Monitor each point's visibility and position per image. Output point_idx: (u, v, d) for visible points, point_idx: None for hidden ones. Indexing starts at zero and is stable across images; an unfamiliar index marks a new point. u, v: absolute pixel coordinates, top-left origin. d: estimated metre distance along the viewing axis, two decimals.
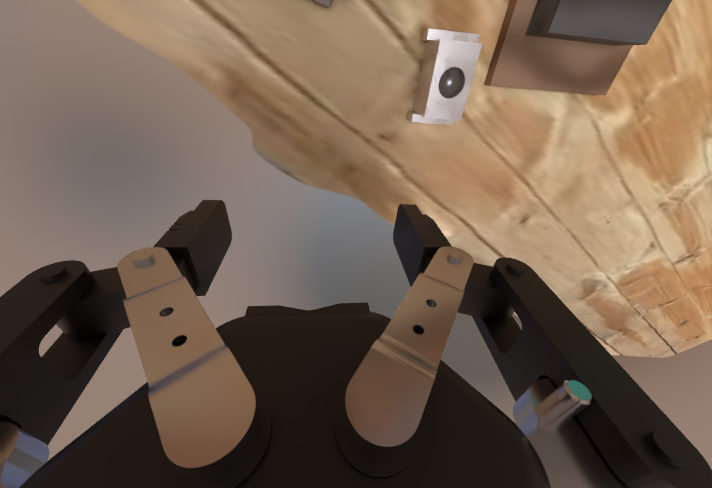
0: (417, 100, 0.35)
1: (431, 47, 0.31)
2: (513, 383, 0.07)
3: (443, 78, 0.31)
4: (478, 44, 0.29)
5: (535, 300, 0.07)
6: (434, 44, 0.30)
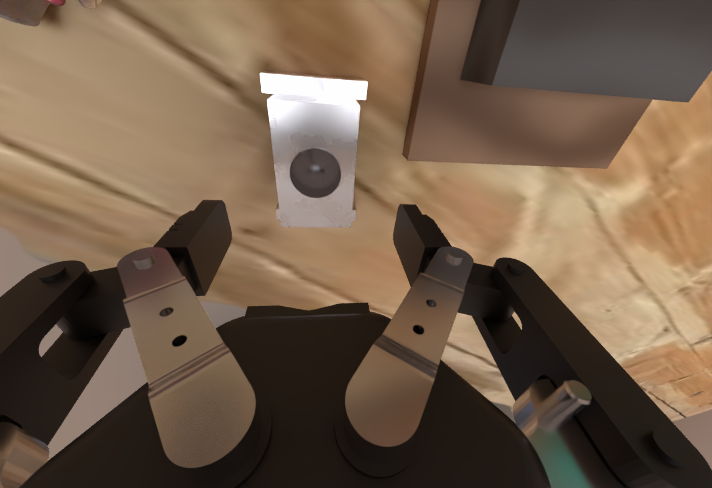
0: None
1: None
2: (513, 383, 0.07)
3: (297, 167, 0.16)
4: (352, 107, 0.14)
5: (535, 300, 0.07)
6: None
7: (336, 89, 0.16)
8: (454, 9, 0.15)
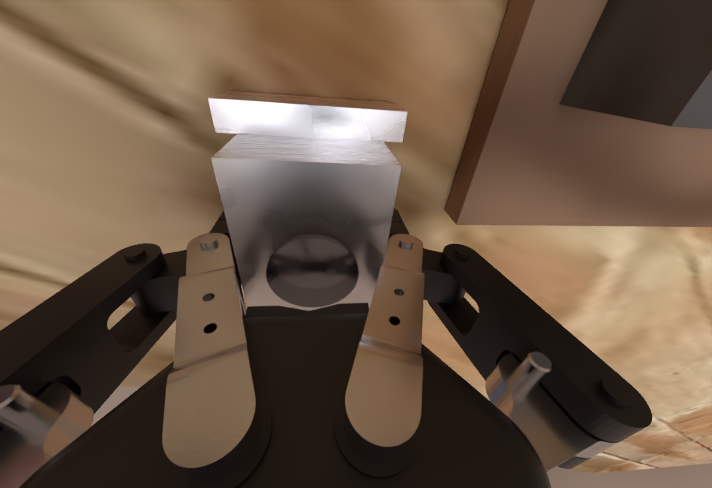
0: None
1: None
2: (479, 361, 0.08)
3: (280, 266, 0.09)
4: (385, 168, 0.07)
5: (485, 281, 0.08)
6: None
7: (351, 125, 0.09)
8: None
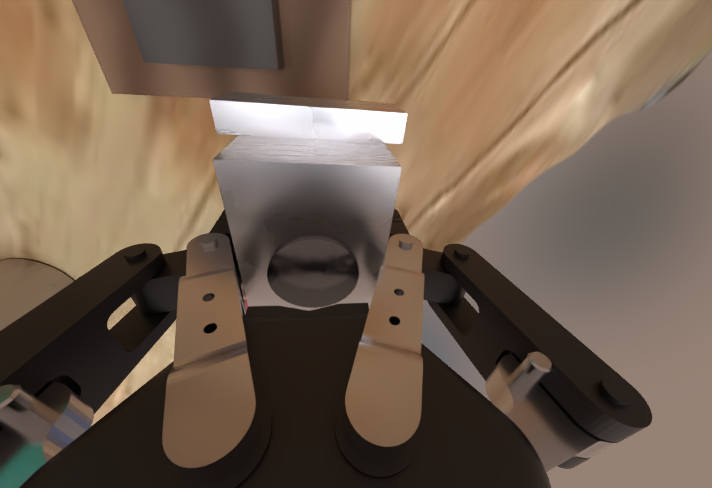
0: None
1: None
2: (478, 361, 0.08)
3: (281, 266, 0.09)
4: (385, 170, 0.07)
5: (485, 281, 0.08)
6: None
7: (351, 126, 0.09)
8: (247, 86, 0.23)
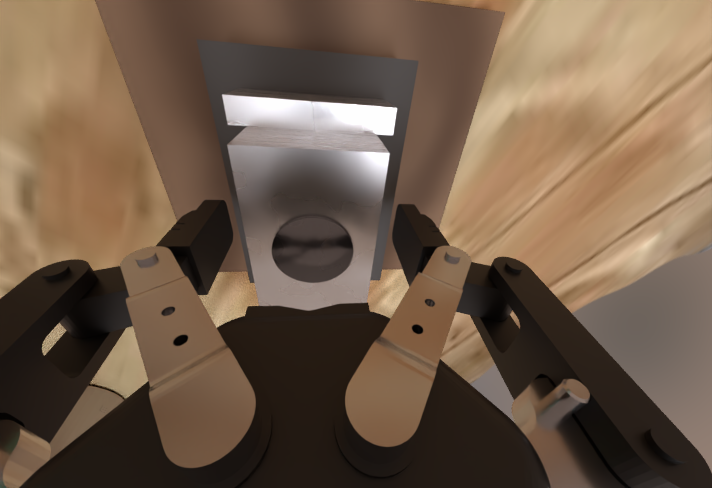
0: None
1: None
2: (512, 382, 0.07)
3: (284, 243, 0.10)
4: (375, 156, 0.08)
5: (533, 299, 0.07)
6: None
7: (347, 119, 0.10)
8: None
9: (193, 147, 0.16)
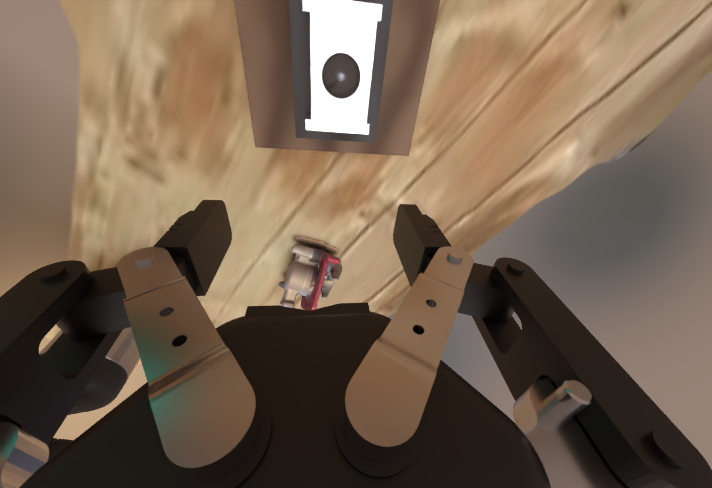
0: None
1: None
2: (513, 383, 0.07)
3: (327, 69, 0.21)
4: (371, 17, 0.19)
5: (535, 300, 0.07)
6: None
7: (358, 10, 0.21)
8: (344, 143, 0.33)
9: (265, 48, 0.27)
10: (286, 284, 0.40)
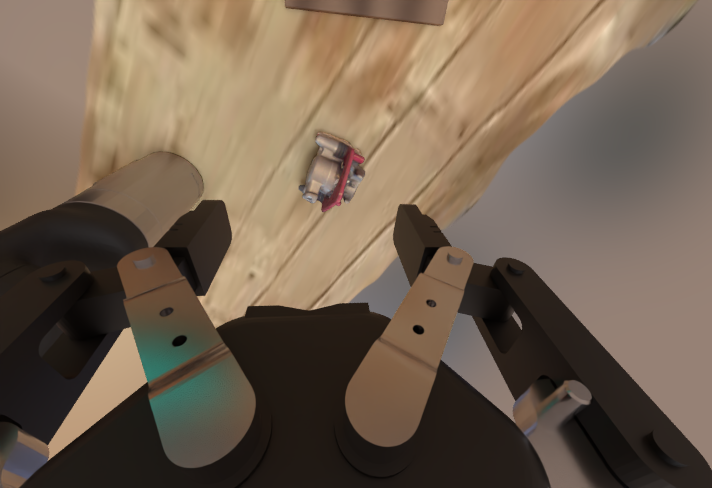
0: None
1: None
2: (513, 383, 0.07)
3: None
4: None
5: (535, 300, 0.07)
6: None
7: None
8: (377, 5, 0.32)
9: None
10: (310, 174, 0.38)
